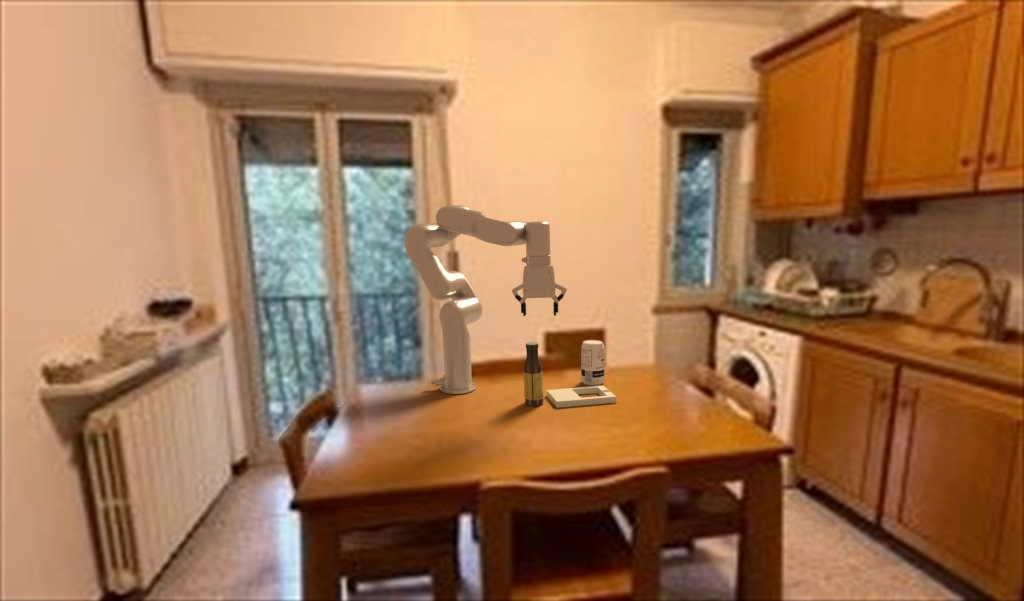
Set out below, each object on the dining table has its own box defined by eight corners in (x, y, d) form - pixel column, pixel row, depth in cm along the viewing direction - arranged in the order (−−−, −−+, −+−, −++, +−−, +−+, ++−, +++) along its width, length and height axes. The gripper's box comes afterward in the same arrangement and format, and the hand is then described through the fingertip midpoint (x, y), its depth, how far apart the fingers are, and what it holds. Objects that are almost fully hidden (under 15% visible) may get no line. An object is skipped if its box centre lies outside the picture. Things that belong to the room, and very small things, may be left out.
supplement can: (581, 379, 208) (581, 339, 206) (603, 379, 207) (604, 339, 204) (580, 385, 200) (581, 344, 198) (604, 386, 199) (605, 345, 196)
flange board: (556, 407, 178) (556, 401, 178) (546, 395, 190) (546, 389, 189) (616, 402, 182) (616, 396, 182) (602, 391, 194) (602, 385, 193)
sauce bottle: (544, 400, 185) (544, 341, 182) (542, 407, 179) (541, 345, 176) (525, 399, 186) (524, 340, 183) (522, 406, 180) (521, 345, 177)
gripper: (509, 262, 174) (511, 317, 176) (566, 261, 172) (567, 316, 174) (512, 261, 181) (513, 313, 184) (566, 259, 179) (567, 312, 182)
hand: (539, 315), depth 179 cm, fingers open, 9 cm apart
